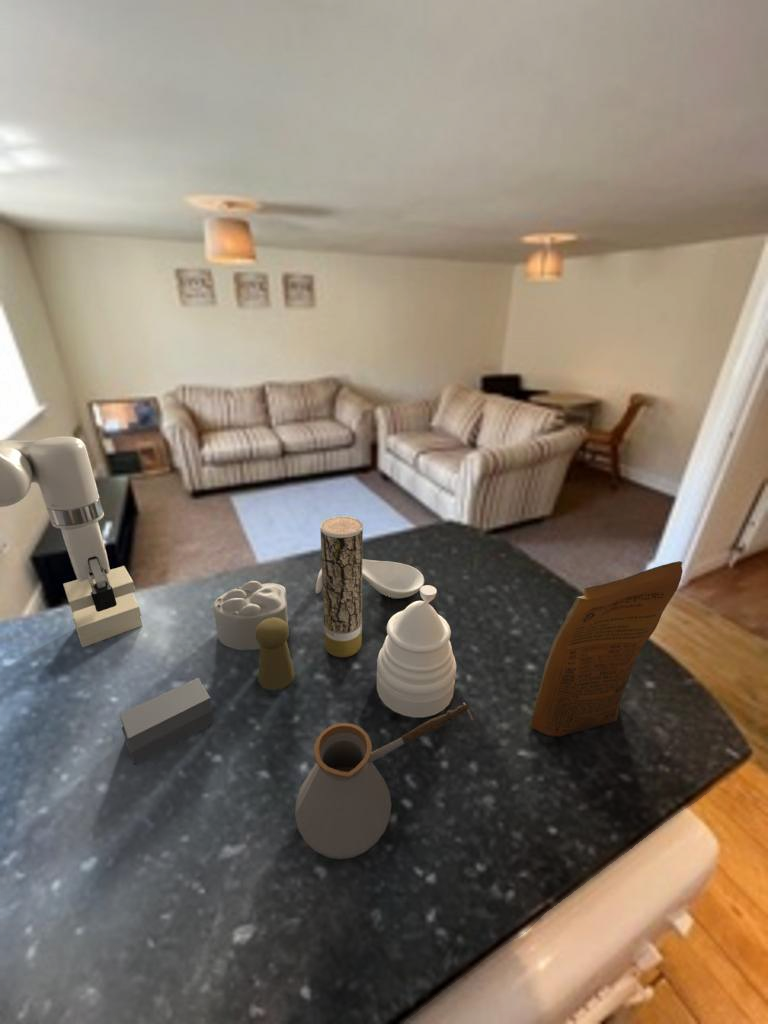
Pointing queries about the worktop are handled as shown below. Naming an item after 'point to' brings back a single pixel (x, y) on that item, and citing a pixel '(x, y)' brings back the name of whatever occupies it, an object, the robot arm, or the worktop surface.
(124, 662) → the worktop surface
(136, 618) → the tan rectangular block
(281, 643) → the olive peg figurine
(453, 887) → the worktop surface
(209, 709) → the grey block
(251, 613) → the lumpy-topped squat cylinder
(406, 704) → the honey pot
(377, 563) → the spoon rest
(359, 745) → the coffee pot
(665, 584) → the pancake mix bag
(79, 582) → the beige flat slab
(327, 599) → the brown bark cylinder
